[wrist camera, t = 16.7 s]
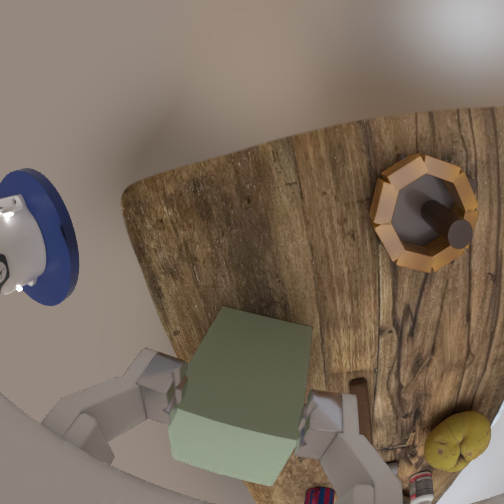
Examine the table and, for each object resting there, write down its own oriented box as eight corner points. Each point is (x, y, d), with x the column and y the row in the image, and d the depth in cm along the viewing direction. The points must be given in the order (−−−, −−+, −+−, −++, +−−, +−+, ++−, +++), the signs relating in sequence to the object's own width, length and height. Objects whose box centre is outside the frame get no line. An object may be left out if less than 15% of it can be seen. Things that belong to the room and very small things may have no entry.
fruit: (472, 428, 35) (483, 469, 26) (416, 443, 39) (421, 487, 30) (487, 390, 32) (505, 435, 23) (424, 408, 35) (434, 459, 26)
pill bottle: (408, 474, 43) (411, 510, 34) (432, 468, 41) (436, 504, 32) (408, 482, 45) (410, 516, 36) (430, 476, 43) (433, 510, 34)
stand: (376, 239, 29) (393, 275, 21) (397, 153, 25) (426, 159, 17) (448, 257, 27) (480, 295, 20) (471, 178, 24) (515, 195, 16)
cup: (306, 496, 53) (303, 518, 46) (305, 482, 49) (300, 507, 43) (334, 496, 51) (331, 518, 45) (335, 481, 47) (332, 507, 41)
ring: (360, 246, 28) (363, 257, 25) (384, 143, 24) (390, 143, 21) (446, 267, 26) (456, 279, 24) (474, 174, 22) (487, 178, 20)
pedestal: (216, 368, 40) (172, 458, 25) (222, 305, 36) (164, 403, 21) (292, 387, 38) (271, 486, 24) (312, 326, 34) (298, 441, 19)
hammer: (400, 381, 32) (397, 476, 40) (397, 366, 34) (396, 465, 42) (307, 397, 36) (335, 485, 44) (309, 382, 38) (336, 474, 46)
